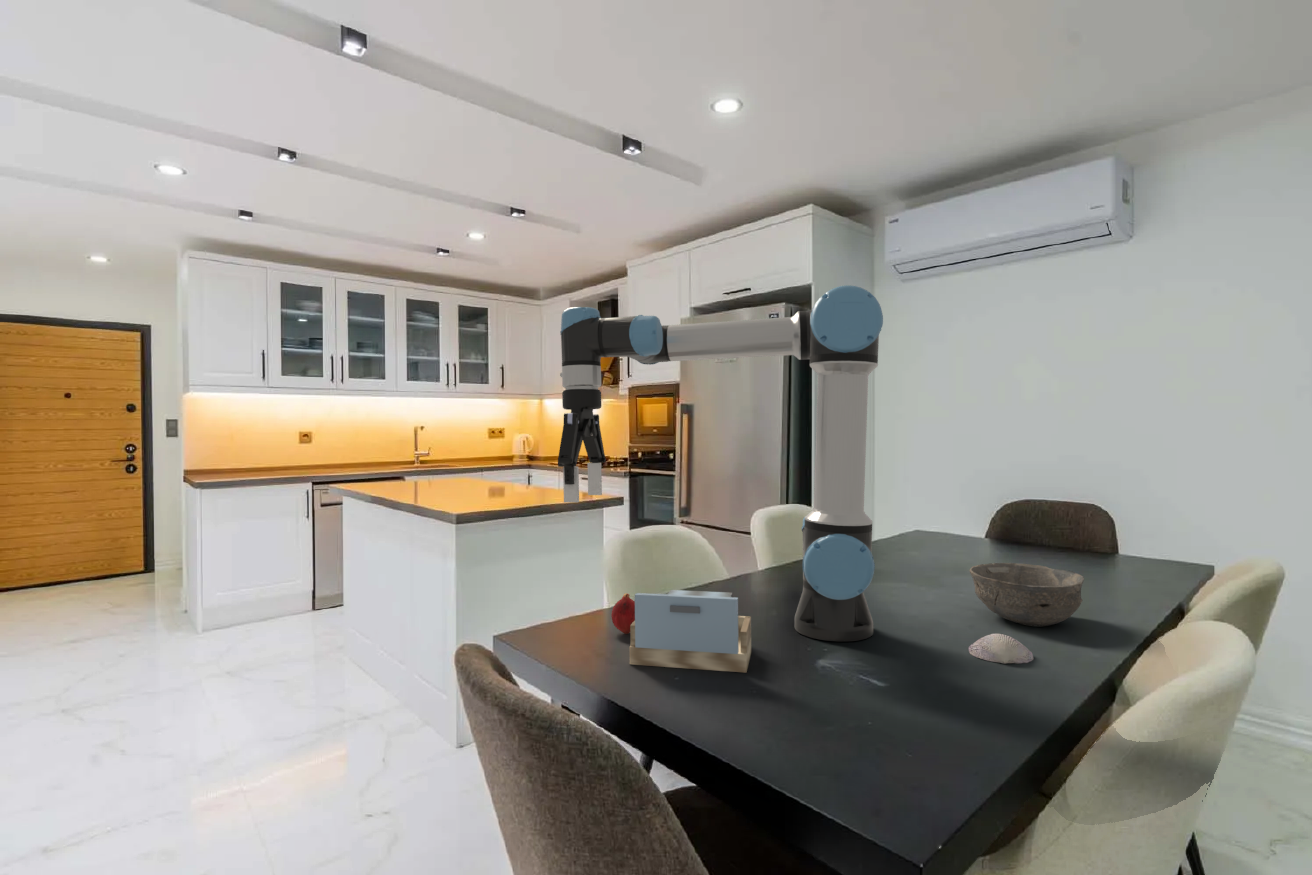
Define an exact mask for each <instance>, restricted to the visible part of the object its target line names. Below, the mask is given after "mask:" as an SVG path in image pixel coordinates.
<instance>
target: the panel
mask: <svg viewBox="0 0 1312 875" xmlns="http://www.w3.org/2000/svg"><path fill="white" fill-rule="evenodd" d="M634 601H635V647H637V648H652V649H668V650H683V651H698V652H714V653H729V654H738V652H739V646H738V616H739V597H735V596H734V597H733V596H732V597H714V596H692V595H671V594H668V593H667V594H666V593H647V592H646V593H645V592H643V593H642V592H636V593H635V594H634Z"/></svg>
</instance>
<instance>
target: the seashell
mask: <svg viewBox="0 0 1312 875" xmlns="http://www.w3.org/2000/svg"><path fill="white" fill-rule="evenodd" d="M968 652H969V654H970V655H971V656H973V657H974V658H975V657H976V658H977V659H981V660H984V661H988V662H994V663H1001V664H1003V665H1004V664H1005V665H1006V664H1016V665H1017V664H1018V665H1019V664H1028V663H1030V662H1032V661H1034V655H1033V652H1032V651H1030V649H1028V647H1026V646H1025V644H1022V643H1021V642H1020V641H1019V640H1017V639H1016V638H1013V637H1012V636H1010V635H1006V634H1003V633H1002V634H1001V633H991V634H987V635H985V636H983V637H982V636H981V637H980V638H978V639H977V640H976V641H974V642H973V643H971V644H970V645H969V646H968Z"/></svg>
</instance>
